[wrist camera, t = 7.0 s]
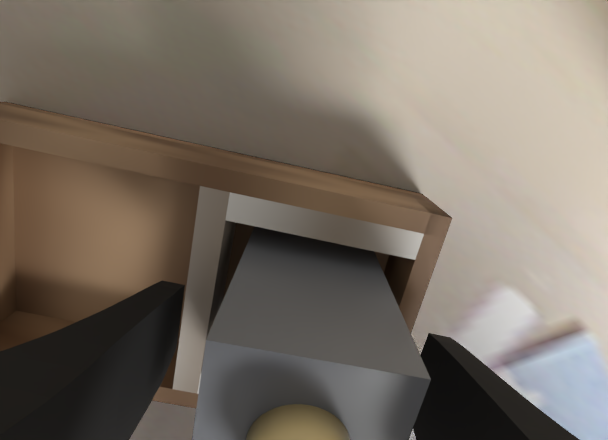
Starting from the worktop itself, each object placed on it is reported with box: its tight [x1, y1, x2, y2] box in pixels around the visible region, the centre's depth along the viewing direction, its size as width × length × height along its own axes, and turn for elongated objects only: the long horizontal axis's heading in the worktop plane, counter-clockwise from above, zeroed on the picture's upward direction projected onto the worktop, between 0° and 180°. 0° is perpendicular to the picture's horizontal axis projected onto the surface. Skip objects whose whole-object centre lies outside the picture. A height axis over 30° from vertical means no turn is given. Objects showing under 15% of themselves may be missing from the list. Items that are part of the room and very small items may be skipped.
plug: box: [192, 227, 431, 440], centre depth 10 cm, size 4×4×8 cm
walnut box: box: [0, 102, 452, 408], centre depth 12 cm, size 14×8×3 cm, turn 78°
